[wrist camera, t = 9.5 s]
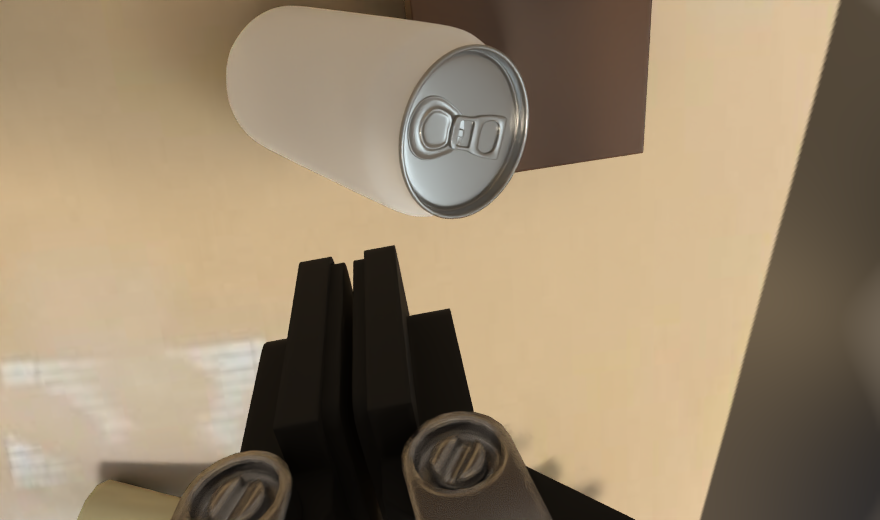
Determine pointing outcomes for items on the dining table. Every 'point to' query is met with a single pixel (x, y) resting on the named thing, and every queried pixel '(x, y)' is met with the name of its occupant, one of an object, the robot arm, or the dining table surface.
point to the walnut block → (565, 69)
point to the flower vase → (127, 503)
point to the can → (382, 106)
